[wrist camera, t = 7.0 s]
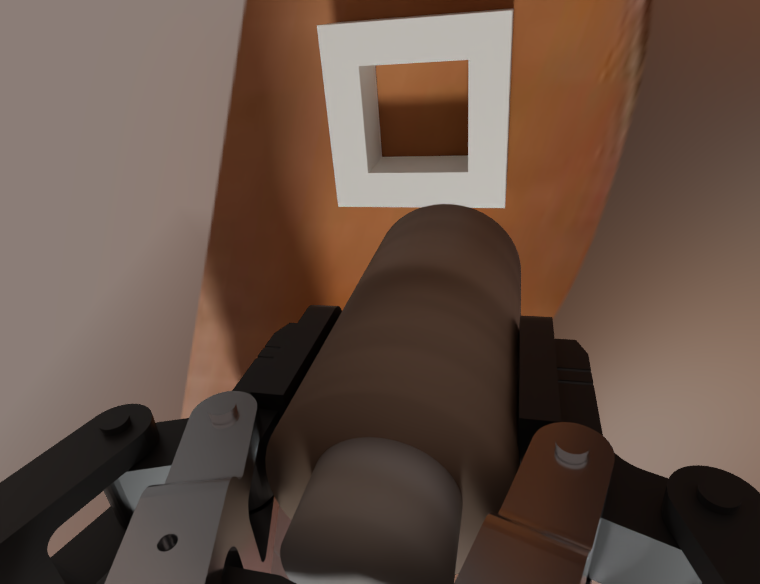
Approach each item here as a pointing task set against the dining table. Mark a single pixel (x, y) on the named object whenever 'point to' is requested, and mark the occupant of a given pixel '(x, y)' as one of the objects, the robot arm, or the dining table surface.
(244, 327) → the dining table surface
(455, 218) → the pepper mill
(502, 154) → the holder
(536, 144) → the dining table surface
